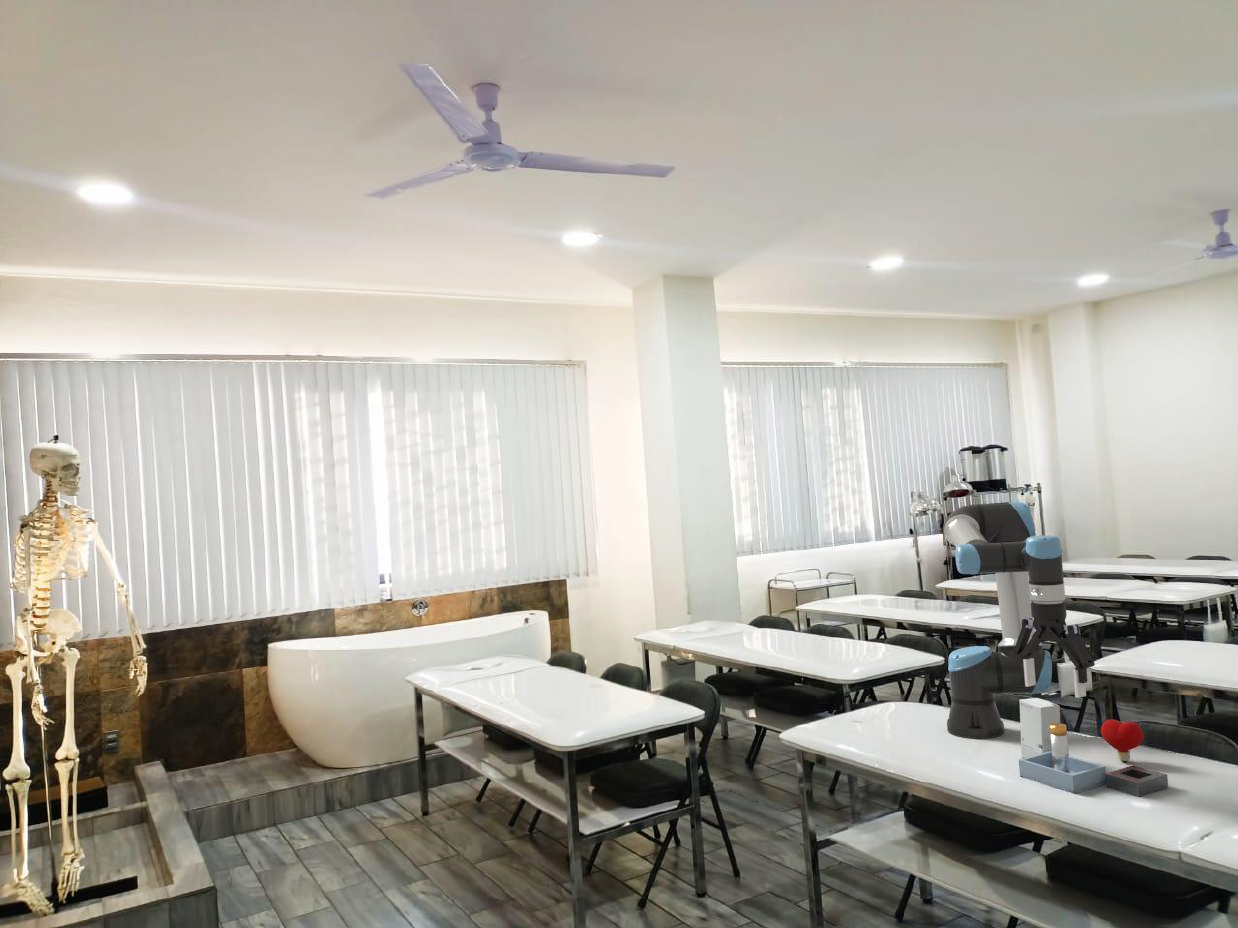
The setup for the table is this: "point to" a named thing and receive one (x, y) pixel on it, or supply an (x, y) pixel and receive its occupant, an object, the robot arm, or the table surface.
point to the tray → (1063, 773)
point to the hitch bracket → (1136, 780)
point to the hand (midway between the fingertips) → (1054, 690)
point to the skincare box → (1037, 725)
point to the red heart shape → (1122, 737)
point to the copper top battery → (1059, 747)
